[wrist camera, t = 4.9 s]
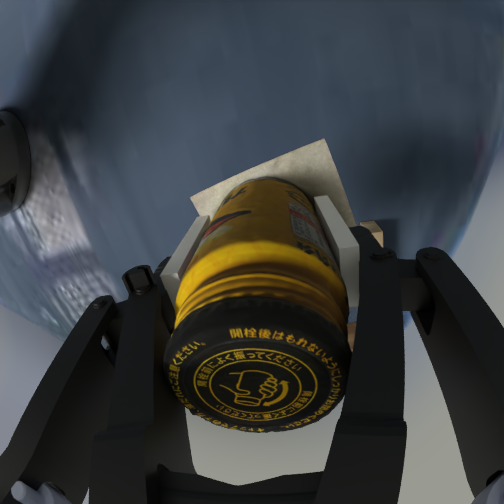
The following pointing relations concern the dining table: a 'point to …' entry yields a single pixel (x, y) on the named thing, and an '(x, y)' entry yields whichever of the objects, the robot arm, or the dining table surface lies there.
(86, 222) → the dining table surface
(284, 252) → the condiment
